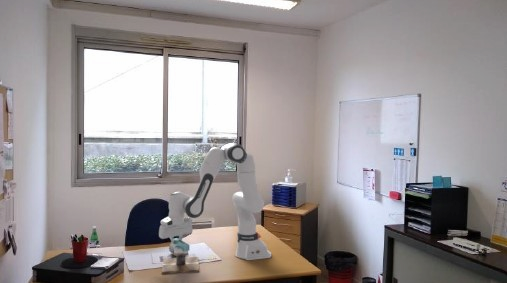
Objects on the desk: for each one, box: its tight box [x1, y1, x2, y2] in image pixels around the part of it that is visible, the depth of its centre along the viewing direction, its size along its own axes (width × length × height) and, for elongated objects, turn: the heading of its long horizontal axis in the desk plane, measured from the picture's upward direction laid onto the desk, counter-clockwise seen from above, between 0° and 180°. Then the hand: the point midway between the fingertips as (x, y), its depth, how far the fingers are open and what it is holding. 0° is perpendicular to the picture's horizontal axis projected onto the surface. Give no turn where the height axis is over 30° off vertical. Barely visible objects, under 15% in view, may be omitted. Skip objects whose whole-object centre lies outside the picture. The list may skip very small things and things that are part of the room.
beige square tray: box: [161, 255, 200, 275], centre depth 210 cm, size 20×20×7 cm
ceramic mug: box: [168, 242, 177, 257], centre depth 228 cm, size 11×8×8 cm
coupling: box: [173, 237, 191, 257], centre depth 209 cm, size 8×15×7 cm, turn 39°
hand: (176, 243), depth 214 cm, fingers open, 2 cm apart
